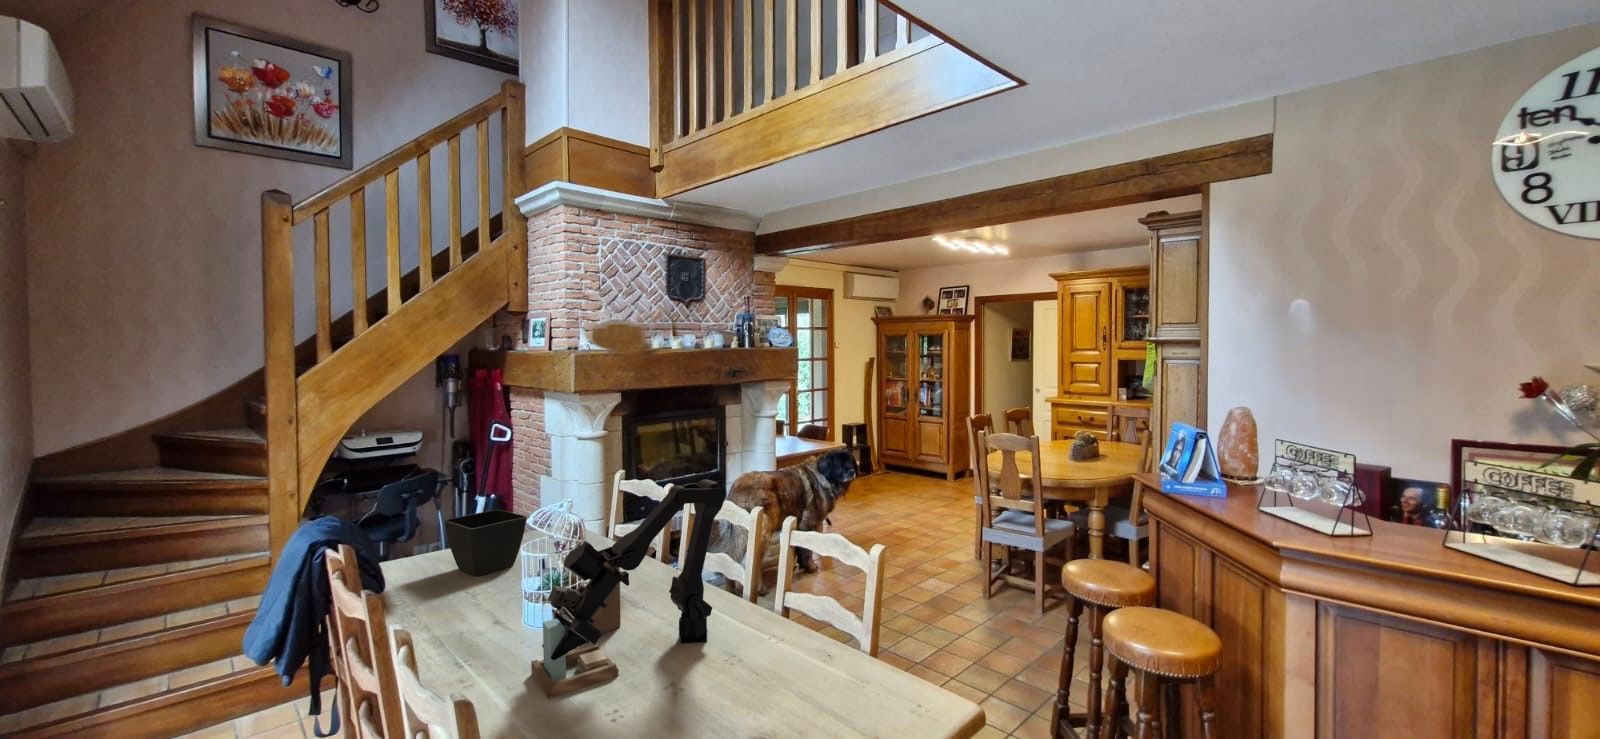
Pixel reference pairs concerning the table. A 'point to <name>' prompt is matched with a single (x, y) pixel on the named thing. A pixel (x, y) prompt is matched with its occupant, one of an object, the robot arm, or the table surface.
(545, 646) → the tall grey-green pillar
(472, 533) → the flower pot
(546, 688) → the rack
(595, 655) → the offcut stack
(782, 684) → the table surface
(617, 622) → the wooden block
